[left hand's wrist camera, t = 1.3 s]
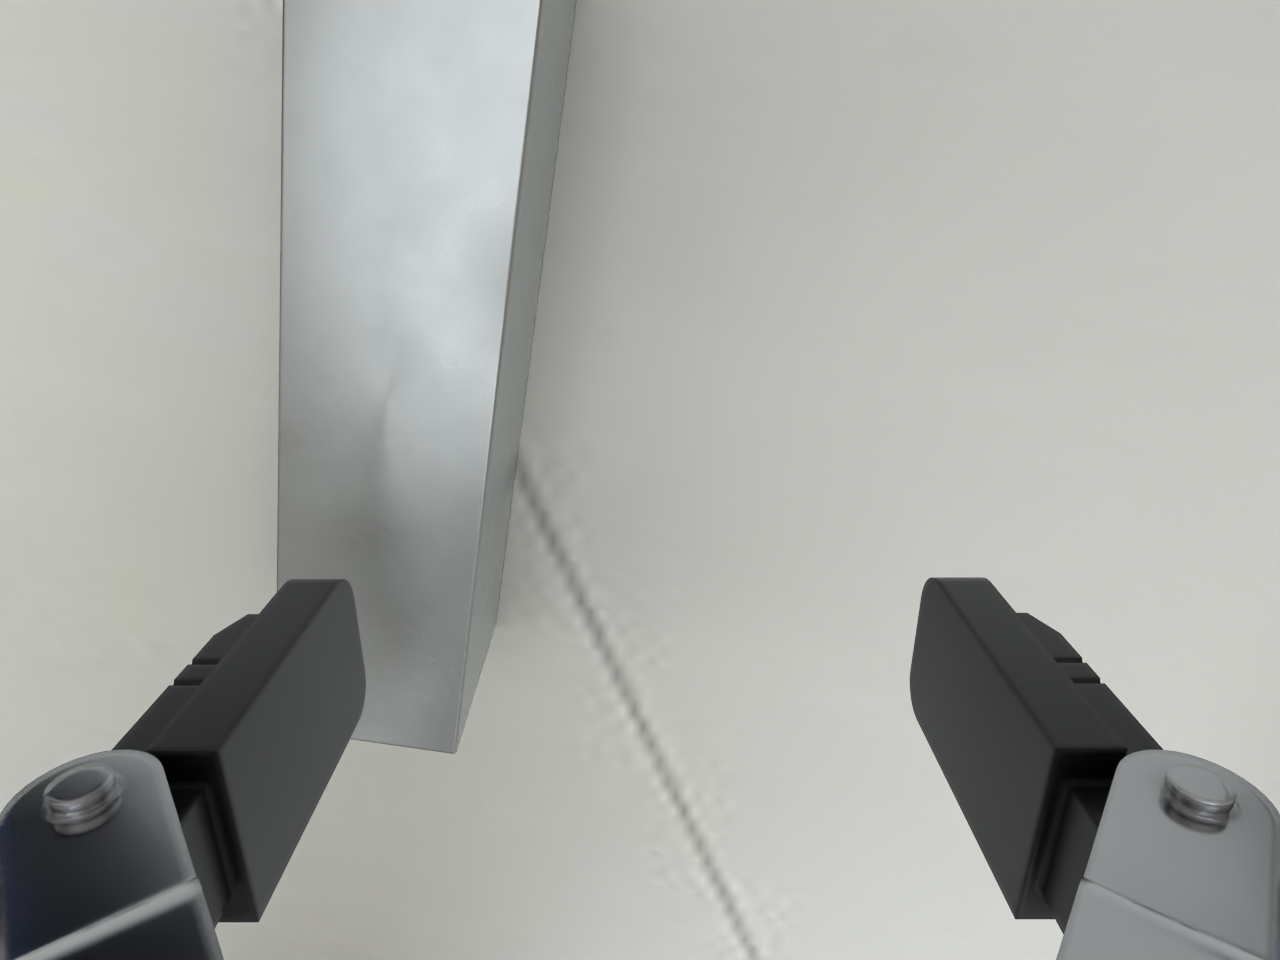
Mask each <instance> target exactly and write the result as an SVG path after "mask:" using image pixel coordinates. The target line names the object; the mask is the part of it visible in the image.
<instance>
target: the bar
mask: <svg viewBox="0 0 1280 960" xmlns="http://www.w3.org/2000/svg"><path fill="white" fill-rule="evenodd" d="M575 7H576V0H283V49H282V147H281V245H280V342H279V440H278V537H277V592H278V591H279V590H280V588H281V587H282V586H283V585H284V584H285V583H286V582H287V581H288V580H290V579H346V580H347V581H348V582H349V583H350V585H351V587H352V590H353V594H354V599H355V606H356V613H357V620H358V626H359V633H360V640H361V646H362V653H363V660H364V667H365V674H366V693H365V701H364V707H363V711H362V714H361V717H360V720H359V722H358V724H357V726H356V728H355V730H354V732H353V734H352V736H351V738H350V739H354V740H361V741H368V742H375V743H382V744H389V745H396V746H403V747H410V748H417V749H424V750H431V751H438V752H445V753H452V754H454V753H455V752H456V751H457V748H458V745H459V741H460V738H461V735H462V732H463V729H464V725H465V722H466V719H467V716H468V713H469V709H470V706H471V703H472V700H473V696H474V693H475V690H476V687H477V684H478V680H479V677H480V674H481V671H482V668H483V664H484V661H485V658H486V655H487V652H488V648H489V645H490V642H491V639H492V635H493V632H494V629H495V626H496V619H497V612H498V604H499V596H500V588H501V581H502V573H503V565H504V557H505V550H506V542H507V534H508V526H509V519H510V511H511V503H512V495H513V488H514V480H515V472H516V464H517V457H518V449H519V441H520V433H521V426H522V418H523V410H524V402H525V395H526V387H527V379H528V371H529V364H530V356H531V348H532V340H533V333H534V325H535V317H536V309H537V302H538V294H539V286H540V278H541V271H542V263H543V255H544V248H545V240H546V232H547V224H548V217H549V209H550V201H551V193H552V186H553V178H554V170H555V162H556V155H557V147H558V139H559V131H560V124H561V116H562V108H563V100H564V93H565V85H566V77H567V69H568V62H569V54H570V46H571V38H572V31H573V23H574V15H575Z"/></svg>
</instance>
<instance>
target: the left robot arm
mask: <svg viewBox="0 0 1280 960" xmlns="http://www.w3.org/2000/svg"><path fill="white" fill-rule="evenodd" d="M365 693H366V674H365V667H364V660H363V653H362V646H361V640H360V633H359V626H358V620H357V613H356V606H355V599H354V594H353V590H352V587H351V585H350V583H349V582H348V581H347V580H346V579H290V580H288V581H287V582H286V583H285V584H284V585H283V586H282V587H281V588H280V590H279V591H278V592H277V593H276V594H275V596H274V597H273V598H272V599H271V600H270V602H269V603H268V604H267V605H266V606H265V608H264V609H263V610H262V611H261V612H260V614H248V615H246V616H245V617H243V618H241V619H240V620H238V621H236V622H235V623H233V624H232V625H230V626H228V627H227V628H225V629H224V630H222V631H220V632H219V633H217V634H215V635H214V636H213V637H212V638H211V639H210V640H209V642H208V643H207V644H206V645H205V646H204V647H203V648H202V649H201V651H200V652H199V653H198V654H197V655H196V656H195V657H194V658H193V660H192V665H187V666H186V667H185V668H184V670H183V671H182V672H181V673H180V674H179V675H178V676H177V677H176V679H175V680H174V685H173V686H168V688H167V689H166V690H165V691H164V692H163V693H162V694H161V695H160V697H159V698H158V699H157V700H156V701H155V702H154V703H153V704H152V705H151V707H150V708H149V709H148V710H147V711H146V712H145V713H144V714H143V716H142V717H141V718H140V719H139V720H138V721H137V722H136V723H135V725H134V726H133V727H132V728H131V729H130V730H129V731H128V732H127V733H126V735H125V736H124V737H123V738H122V739H121V740H120V741H119V742H118V744H117V745H116V746H115V747H114V748H113V749H112V750H111V751H104V752H100V753H95V754H91V755H87V756H84V757H81V758H78V759H75V760H73V761H70V762H67V763H65V764H63V765H61V766H58V767H56V768H54V769H52V770H50V771H48V772H47V773H45V774H43V775H42V776H40V777H38V778H37V779H35V780H34V781H32V782H31V783H30V784H28V785H27V786H25V787H24V788H23V789H22V790H21V791H20V792H18V793H17V794H16V795H15V796H14V797H13V798H12V799H11V800H10V801H9V802H8V804H7V805H6V806H5V808H4V809H3V811H2V812H1V814H0V960H224V959H223V955H222V952H221V949H220V946H219V942H218V939H217V936H216V933H215V927H216V925H217V923H218V922H259V920H260V918H261V916H262V914H263V912H264V910H265V908H266V906H267V904H268V902H269V900H270V898H271V896H272V894H273V892H274V890H275V888H276V886H277V884H278V882H279V880H280V878H281V876H282V874H283V872H284V870H285V868H286V866H287V864H288V862H289V860H290V858H291V856H292V854H293V852H294V850H295V848H296V846H297V844H298V842H299V840H300V838H301V836H302V834H303V832H304V830H305V828H306V826H307V824H308V822H309V820H310V818H311V816H312V814H313V812H314V810H315V808H316V806H317V804H318V802H319V800H320V798H321V796H322V794H323V792H324V790H325V788H326V786H327V784H328V782H329V780H330V778H331V776H332V774H333V772H334V770H335V768H336V766H337V764H338V762H339V760H340V758H341V756H342V754H343V752H344V750H345V748H346V746H347V744H348V742H349V740H350V738H351V736H352V734H353V732H354V730H355V728H356V726H357V724H358V722H359V720H360V717H361V714H362V711H363V707H364V701H365ZM910 693H911V700H912V706H913V710H914V713H915V716H916V718H917V721H918V723H919V725H920V727H921V729H922V731H923V733H924V735H925V737H926V739H927V741H928V743H929V745H930V747H931V749H932V751H933V753H934V755H935V757H936V759H937V761H938V763H939V765H940V767H941V769H942V771H943V773H944V775H945V777H946V779H947V781H948V784H949V786H950V788H951V790H952V792H953V794H954V796H955V798H956V800H957V802H958V804H959V806H960V808H961V810H962V812H963V814H964V816H965V818H966V820H967V822H968V824H969V826H970V828H971V830H972V832H973V834H974V836H975V838H976V840H977V842H978V844H979V846H980V848H981V850H982V852H983V854H984V857H985V859H986V861H987V863H988V865H989V867H990V869H991V871H992V873H993V875H994V877H995V879H996V881H997V883H998V885H999V887H1000V889H1001V891H1002V893H1003V895H1004V897H1005V899H1006V901H1007V903H1008V905H1009V907H1010V909H1011V911H1012V913H1013V915H1014V917H1015V919H1056V921H1057V923H1058V925H1059V927H1060V929H1061V930H1062V932H1063V934H1064V936H1063V939H1062V942H1061V946H1060V949H1059V952H1058V955H1057V959H1056V960H1280V814H1279V812H1278V811H1277V809H1276V808H1275V806H1274V805H1273V804H1272V802H1271V801H1270V800H1269V799H1268V798H1267V797H1266V796H1265V795H1264V794H1263V793H1262V792H1260V791H1259V790H1258V789H1257V788H1256V787H1255V786H1253V785H1252V784H1250V783H1249V782H1248V781H1246V780H1245V779H1243V778H1242V777H1240V776H1238V775H1237V774H1235V773H1233V772H1232V771H1230V770H1228V769H1226V768H1224V767H1222V766H1219V765H1217V764H1215V763H1213V762H1210V761H1207V760H1205V759H1202V758H1199V757H1196V756H1193V755H1189V754H1185V753H1180V752H1176V751H1168V750H1163V749H1162V748H1161V747H1160V746H1159V744H1158V743H1157V742H1156V741H1155V740H1154V739H1153V738H1152V736H1151V735H1150V734H1149V733H1148V732H1147V731H1146V730H1145V729H1144V727H1143V726H1142V725H1141V724H1140V723H1139V722H1138V721H1137V719H1136V718H1135V717H1134V716H1133V715H1132V714H1131V713H1130V712H1129V710H1128V709H1127V708H1126V707H1125V706H1124V705H1123V704H1122V703H1121V701H1120V700H1119V699H1118V698H1117V697H1116V696H1115V695H1114V693H1113V692H1112V691H1111V690H1110V689H1109V688H1108V687H1107V686H1106V684H1101V683H1100V678H1099V677H1098V675H1097V674H1096V673H1095V672H1094V671H1093V670H1092V669H1091V667H1090V666H1089V665H1088V664H1087V663H1083V662H1082V657H1081V656H1080V655H1079V654H1078V653H1077V652H1076V651H1075V649H1074V648H1073V647H1072V646H1071V645H1070V644H1069V643H1068V641H1067V640H1066V639H1065V638H1064V637H1063V636H1062V635H1061V634H1060V633H1059V632H1057V631H1055V630H1054V629H1052V628H1051V627H1049V626H1047V625H1046V624H1044V623H1043V622H1041V621H1039V620H1038V619H1036V618H1034V617H1033V616H1031V615H1030V614H1028V613H1016V612H1015V611H1014V610H1013V609H1012V607H1011V606H1010V605H1009V604H1008V603H1007V601H1006V600H1005V599H1004V598H1003V597H1002V595H1001V594H1000V593H999V592H998V590H997V589H996V588H995V587H994V586H993V584H992V583H991V582H990V581H989V580H988V579H986V578H929V579H928V580H927V581H926V583H925V585H924V588H923V591H922V596H921V603H920V610H919V616H918V623H917V630H916V637H915V644H914V651H913V657H912V664H911V672H910Z"/></svg>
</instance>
